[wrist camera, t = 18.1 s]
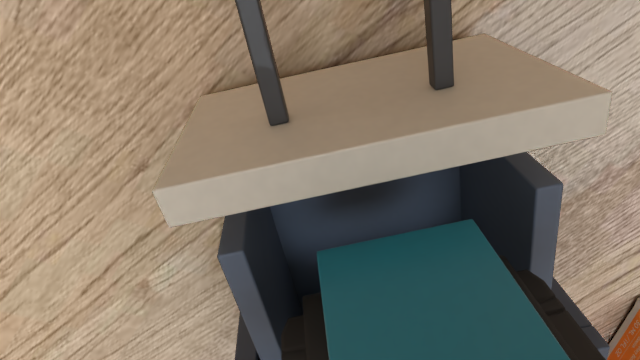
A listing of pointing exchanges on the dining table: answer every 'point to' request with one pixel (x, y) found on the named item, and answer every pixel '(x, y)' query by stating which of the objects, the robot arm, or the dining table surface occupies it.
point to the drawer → (374, 159)
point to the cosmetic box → (627, 337)
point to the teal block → (428, 300)
